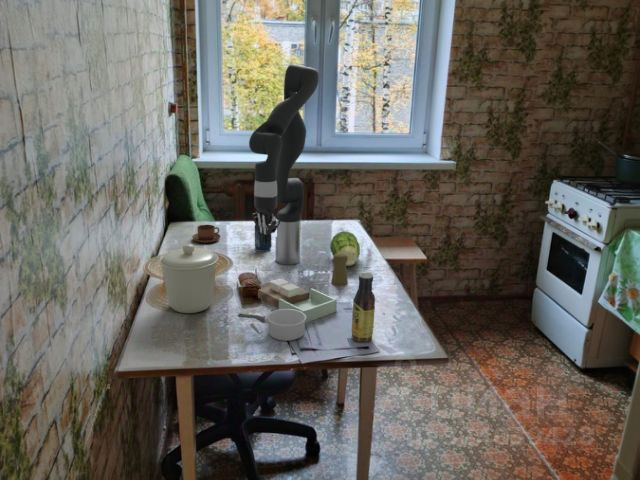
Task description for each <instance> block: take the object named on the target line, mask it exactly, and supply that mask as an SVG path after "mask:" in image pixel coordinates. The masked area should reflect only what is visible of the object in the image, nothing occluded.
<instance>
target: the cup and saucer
mask: <svg viewBox="0 0 640 480" xmlns="http://www.w3.org/2000/svg"><path fill="white" fill-rule="evenodd" d="M216 230H217V232H216ZM191 238H192V239H193V240H194V241H195V242H198V243H207V244H208V243H213V242H216V241H218V240H220V238H221V234H220V228H219V227H217V226H215V225H212V224H200V225H198V226H197V233H195V234H193V235H192V236H191Z"/></svg>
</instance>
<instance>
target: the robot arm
mask: <svg viewBox="0 0 640 480" xmlns="http://www.w3.org/2000/svg"><path fill="white" fill-rule="evenodd" d="M319 77H320V76H319V72H318V70H317V69H315V68H313V67H309V66H305V65H299V64H294V63H291V64H289V65H288V66H287V68H286V70H285V74H284V81H283V84H284V85H283V100H282V101H281V102H279V103H278V104H277V105H276V106H274V108H273V109H272V111H271V113H270V114H269V116H268V117H267V119H266V120H265V121H264V122H262V124H261V125H259V126H258V127H257V128H256V129H255V130H254V131H253V132H252V134H251V135H250V137H249V139H248V140H249V141H248V146H249V149H250V151H251V152H253V154H259V155H265V156H266V160H262V161H258V162H256V163H255V164H254V189H253V190H254V191H253V193H254V194H253V199H254V201H253V202H254V208H255V209H256V210H255V213H252V214H251V217H252V219H253V222H254V226H255V225H256V227H257V230H260V232H261V241H262V244H265V245H267V244H270V234H271V235H272V234H275V233H276V236H275V260H276V261H277V263H279V264H280V265H284V266H285V265H288V266H291V265H296V264H299V263H300V262H301V241H302V240H301V235H302V234H301V233H302V231H301V228H302V215H303V207H304V194H305V191H304V190H305V189H304V184H303V181H302V180H301V179H300V178H298V177H290V178H289V176H290V173H291V170H292V168H293V167H294V164H295V163H296V162H297V161H298V159H299V157H300V156H301V154H302V153H303V151H304V149H305V144H306V137H307V128H306V124H305V122H304V120H303V118H302V115H301V112H300V110H301V108H302V107H303V106H304V105H305V104H306V103H307V101H309V100H310V98H311V97H312V95H314V93H315V91H316V89H317V88H318V84H319ZM278 204H286V206H284V207H283V208H282V209H280V210H278V212H277V214H276V209H277V207H278ZM276 215H277V216H276ZM258 223H259V224H258Z"/></svg>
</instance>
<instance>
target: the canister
mask: <svg viewBox="0 0 640 480" xmlns="http://www.w3.org/2000/svg"><path fill="white" fill-rule="evenodd" d="M218 261H219V256H218V255H217V254H216V253H214V252H213V251H210V250H208V249H206V248H201V247H200V248H199V247H194V245H193V244H190V243H186V244H183V247H182V248H177V249H174V250H171V251H168V252H167V253H165V254H163V255H162V256H160V257H159V259H158V263H159V264H160V265H161V270H162V275H163V280H164V287H165V292H166V296H167V301H168V304H169V306H170V308H171V309H172V310H174V311H175V312H178V313H180V314H181V313H182V314H194V313H195V314H196V313H200V312H203V311H206V310H207V309H208V308H209V307H210V306H211V305H212V302H213V300H214V299H213V298H214V291H215V282H216V269H217V262H218Z"/></svg>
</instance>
